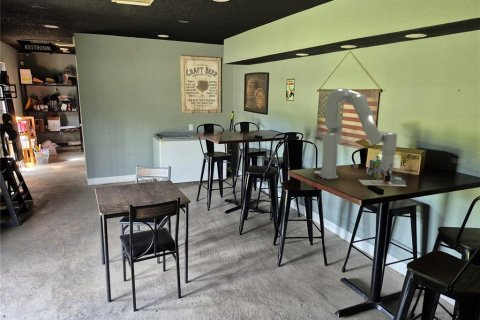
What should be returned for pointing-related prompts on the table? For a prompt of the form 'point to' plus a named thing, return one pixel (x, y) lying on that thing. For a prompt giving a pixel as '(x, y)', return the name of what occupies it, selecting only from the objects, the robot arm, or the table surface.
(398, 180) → the button
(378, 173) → the chalk box
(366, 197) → the table surface
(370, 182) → the colouring board
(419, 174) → the table surface
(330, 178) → the robot arm
